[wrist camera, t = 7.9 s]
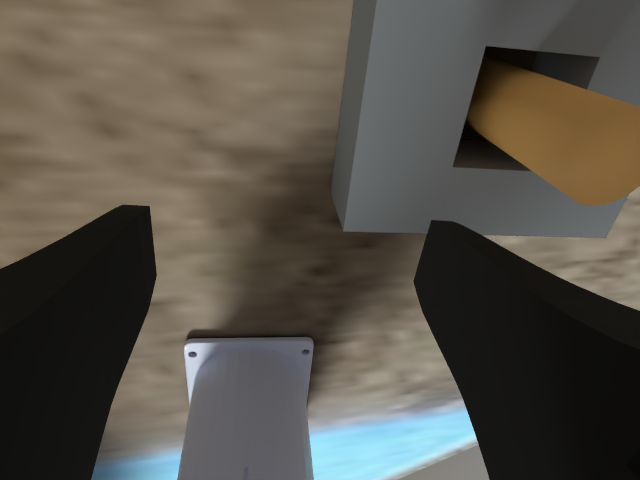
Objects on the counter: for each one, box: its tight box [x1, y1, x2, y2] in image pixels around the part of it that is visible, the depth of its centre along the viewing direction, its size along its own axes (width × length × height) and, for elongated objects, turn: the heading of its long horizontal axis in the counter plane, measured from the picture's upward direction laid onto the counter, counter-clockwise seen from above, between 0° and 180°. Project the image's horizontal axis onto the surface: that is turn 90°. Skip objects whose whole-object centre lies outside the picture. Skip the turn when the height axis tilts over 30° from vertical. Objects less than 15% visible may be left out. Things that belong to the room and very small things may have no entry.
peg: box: [464, 57, 640, 206], centre depth 16 cm, size 3×3×9 cm
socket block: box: [331, 0, 640, 238], centre depth 18 cm, size 11×13×4 cm
